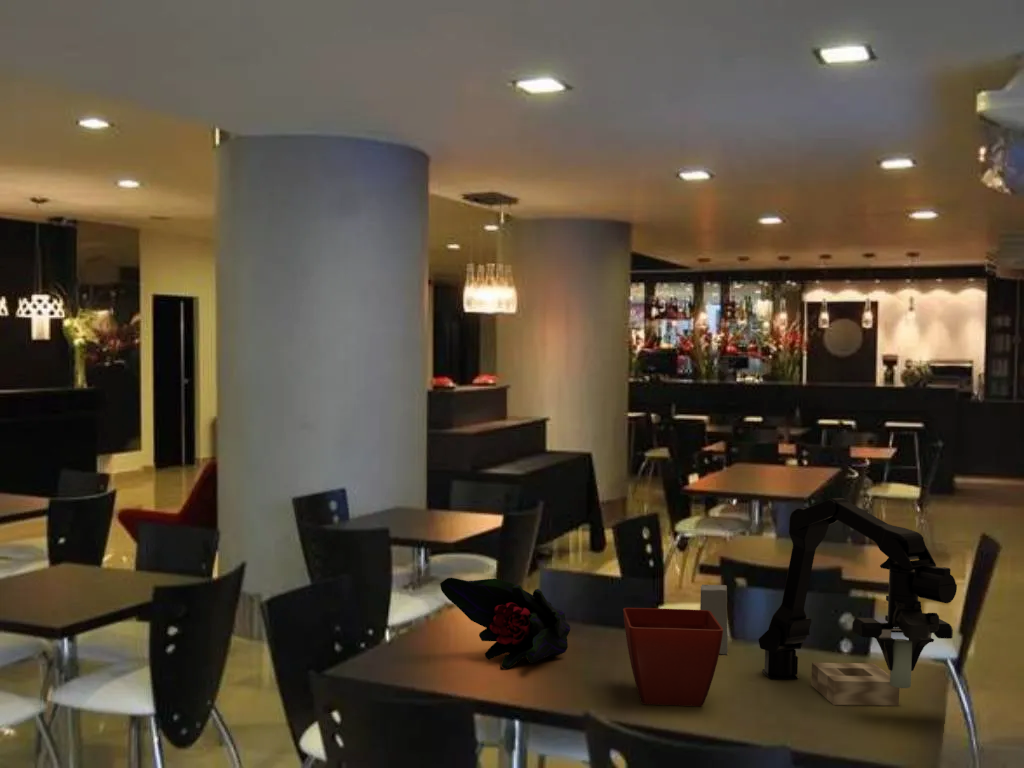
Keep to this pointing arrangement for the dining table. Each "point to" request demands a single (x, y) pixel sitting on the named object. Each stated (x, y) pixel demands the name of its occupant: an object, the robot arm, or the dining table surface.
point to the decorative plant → (510, 619)
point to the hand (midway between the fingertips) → (900, 670)
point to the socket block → (854, 684)
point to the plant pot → (672, 653)
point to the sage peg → (901, 664)
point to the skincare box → (716, 608)
